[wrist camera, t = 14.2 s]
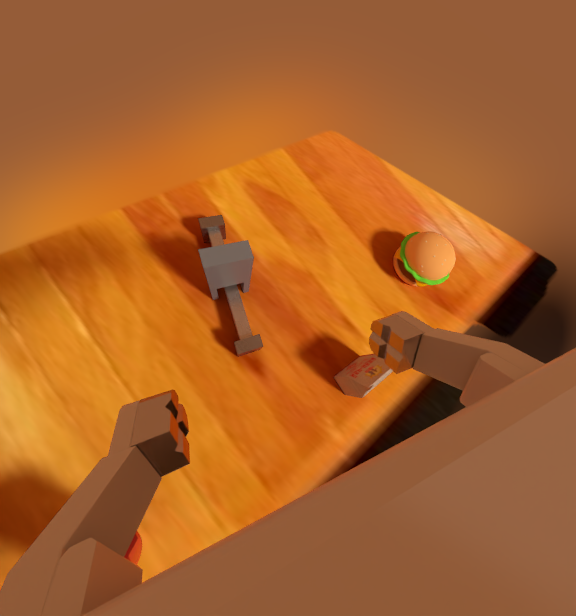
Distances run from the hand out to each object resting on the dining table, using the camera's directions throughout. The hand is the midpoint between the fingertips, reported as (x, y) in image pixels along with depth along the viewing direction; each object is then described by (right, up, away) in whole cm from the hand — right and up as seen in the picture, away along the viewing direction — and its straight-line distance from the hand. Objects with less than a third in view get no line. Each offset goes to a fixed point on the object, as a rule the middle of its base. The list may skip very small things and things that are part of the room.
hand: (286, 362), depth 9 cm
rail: (-10, +6, +33) cm, 35 cm away
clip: (-11, +6, +33) cm, 35 cm away
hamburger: (+28, +11, +43) cm, 53 cm away
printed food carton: (+12, -10, +33) cm, 37 cm away
